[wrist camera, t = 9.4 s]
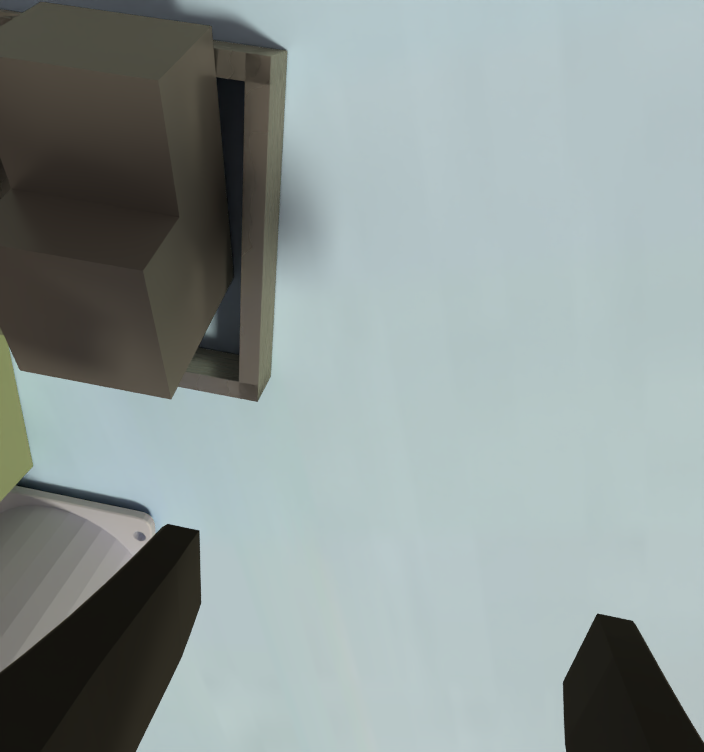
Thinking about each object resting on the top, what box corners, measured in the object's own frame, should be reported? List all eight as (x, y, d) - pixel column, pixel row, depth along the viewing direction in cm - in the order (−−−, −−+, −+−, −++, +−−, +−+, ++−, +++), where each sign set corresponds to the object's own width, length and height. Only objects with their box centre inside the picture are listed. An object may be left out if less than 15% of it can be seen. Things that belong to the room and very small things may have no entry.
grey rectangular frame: (270, 376, 21) (257, 401, 20) (4, 326, 22) (-25, 348, 20) (287, 50, 16) (271, 56, 14) (-63, 0, 16) (-109, 1, 15)
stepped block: (233, 276, 19) (171, 399, 16) (107, 254, 20) (19, 370, 16) (211, 26, 14) (111, 128, 11) (40, 1, 14) (-109, 94, 11)
